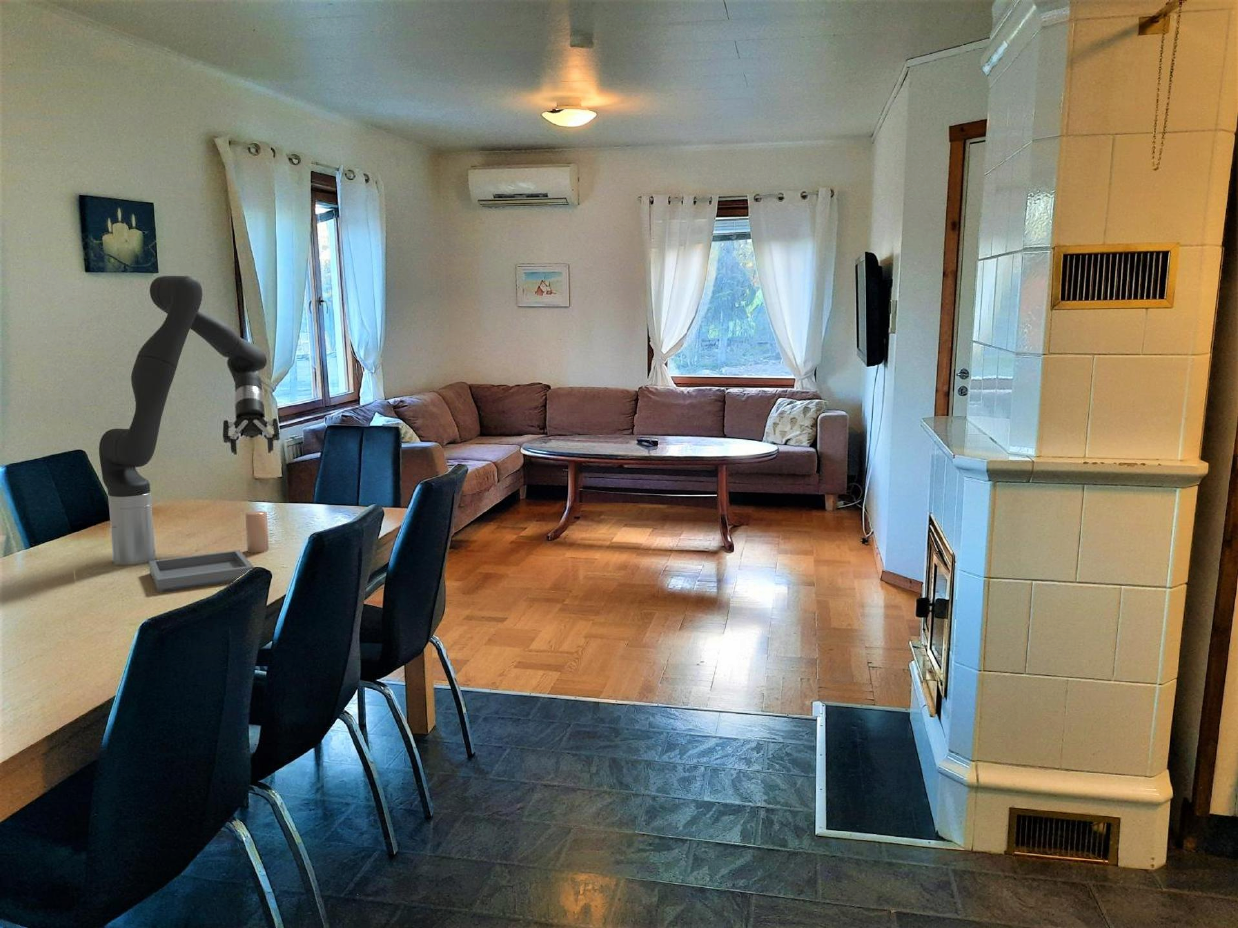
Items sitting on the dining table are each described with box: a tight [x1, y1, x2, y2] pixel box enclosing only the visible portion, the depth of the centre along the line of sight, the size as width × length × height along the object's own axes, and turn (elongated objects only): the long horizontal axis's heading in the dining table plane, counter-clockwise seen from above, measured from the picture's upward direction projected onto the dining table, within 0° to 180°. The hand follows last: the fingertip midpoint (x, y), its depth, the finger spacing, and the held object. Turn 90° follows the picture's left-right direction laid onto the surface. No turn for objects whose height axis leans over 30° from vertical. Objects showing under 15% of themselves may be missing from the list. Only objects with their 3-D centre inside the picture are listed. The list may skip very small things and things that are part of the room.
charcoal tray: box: [148, 549, 255, 594], centre depth 206 cm, size 20×18×3 cm
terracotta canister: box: [244, 510, 270, 554], centre depth 229 cm, size 5×5×10 cm
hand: (252, 452), depth 236 cm, fingers open, 8 cm apart
